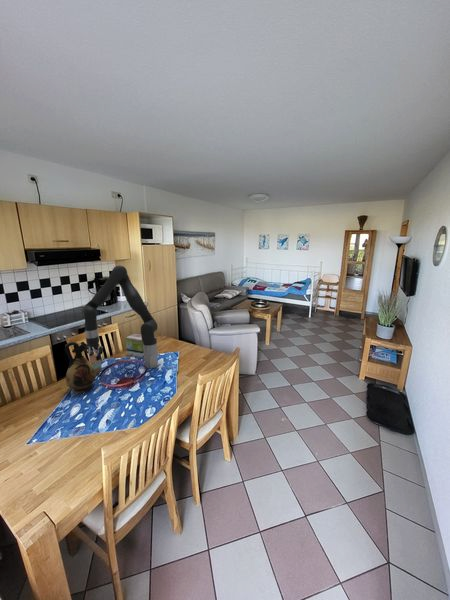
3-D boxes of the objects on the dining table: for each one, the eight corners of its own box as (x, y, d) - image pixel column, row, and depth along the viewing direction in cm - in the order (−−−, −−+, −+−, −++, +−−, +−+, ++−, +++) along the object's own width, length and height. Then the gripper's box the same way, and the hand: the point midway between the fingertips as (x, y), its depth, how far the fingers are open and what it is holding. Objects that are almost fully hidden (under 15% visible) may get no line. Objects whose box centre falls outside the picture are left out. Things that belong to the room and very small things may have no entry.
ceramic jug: (98, 379, 156) (93, 335, 149) (95, 392, 142) (89, 345, 135) (67, 384, 150) (61, 339, 143) (61, 399, 136) (53, 349, 129)
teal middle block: (101, 366, 165) (100, 361, 164) (94, 369, 160) (93, 364, 159) (96, 364, 167) (96, 359, 166) (89, 368, 163) (89, 362, 162)
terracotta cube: (100, 360, 164) (100, 354, 163) (95, 363, 160) (95, 357, 159) (95, 359, 165) (94, 353, 164) (90, 362, 161) (89, 356, 160)
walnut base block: (101, 373, 164) (101, 367, 163) (92, 375, 161) (92, 370, 160) (99, 369, 168) (99, 364, 167) (91, 372, 165) (90, 367, 164)
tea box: (126, 355, 191) (124, 337, 188) (134, 350, 200) (133, 333, 197) (142, 357, 187) (141, 339, 183) (150, 352, 196) (149, 335, 193)
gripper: (105, 334, 160) (108, 358, 164) (87, 332, 164) (90, 356, 168) (97, 339, 153) (100, 363, 157) (78, 336, 157) (81, 360, 161)
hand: (95, 359), depth 162 cm, fingers open, 5 cm apart
